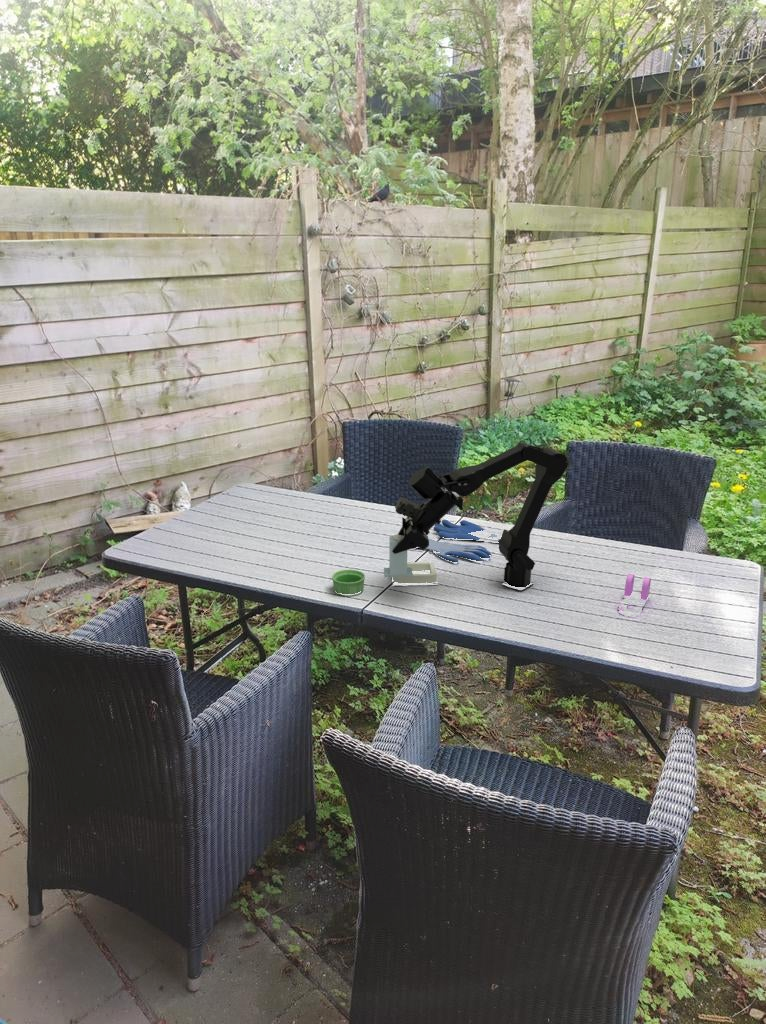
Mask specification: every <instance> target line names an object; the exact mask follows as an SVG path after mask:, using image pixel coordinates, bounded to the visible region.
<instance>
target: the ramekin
mask: <svg viewBox="0 0 766 1024" xmlns="http://www.w3.org/2000/svg"><path fill="white" fill-rule="evenodd" d="M331 580H332V584H333V591H334V590H335V591H336V592H337V593H342V594H355V593H358V592H360V591H362V590H363V591H364V589H363V588H364V585H365V580H366V575H365V573H364V572H363V571H360V570H357V569H342V570H338V571H336V572H334V573H333V574H331ZM335 591H334V592H335ZM337 593H336V594H337Z"/></svg>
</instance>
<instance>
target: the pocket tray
mask: <svg viewBox="0 0 766 1024" xmlns="http://www.w3.org/2000/svg"><path fill="white" fill-rule="evenodd" d="M407 567H412V571H422V570H424V571H425V570H430V574H413V577H393V580H394V582H398V583H426V582H427V583H432V582H437V578H438V576H437V575H438V573H437V570H436V567H435V563H434V562H430V561H411V562H410V561H407Z"/></svg>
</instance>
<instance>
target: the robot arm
mask: <svg viewBox="0 0 766 1024" xmlns="http://www.w3.org/2000/svg"><path fill="white" fill-rule="evenodd" d="M526 461H529V462H532V463H534V464H535V469H534V470H535V473H534V474H535V475H534V480H533V483H532V485H531V487H530V490H529V491H528V494H527V496H526V498H525V501H524V503H523V505H522V508H521V510H520V512H519V514H518V516H517V518H516V521H515V523H514V525H513V526H512V527H511V528H510V529H509V530H507V529H504V530H503V531H502V533H501V534H502V537H501V539H500V540H499V541H498V542H499V543H500V544H498V550H499V553H500V554H501V555H502V556H503V557H504V559H505V560H506V561H507V562H506V563H505V567H504V569H503V570H504V571H503V572H504V573H503V582H507V583H508V584H509V585H511V586H515V587H526V586H527V585H529V584H530V582H532V581H531V579H532V577H531V576H532V571H533V570H534V567H535V566H536V562H535V561H534V560H533V559H532V558H531V557H530V556H529V555H528V553H529V549H530V545H531V544H530V543H531V542H530V541H531V540H530V539H531V533H532V531H533V529H534V527H535V524H536V522H537V520H538V517H539V515H540V513H541V511H542V509H543V507H544V504H545V502H546V499H547V498H548V495H549V493H550V491H551V489H552V487H553V486H554V485H555V484H556V483H557V482H558V481H559V480H560V479H561V478H562V476H564V473H566V471H567V469H568V467H569V461H568V458H567V456H566V455H565V454H563V453H561V452H560V451H558V450H556V449H555V448H553V447H547V448H545V449H544V448H541V447H540V446H536V445H531V444H529V443H528V442H525V441H524V442H519V443H517V445H516V446H513V447H512V448H509V449H507V450H505V451H503V452H500V453H499V454H497V455H495V456H493V457H491V458H489V459H487V460H485V461H483V462H481V463H478V464H475V465H474V464H473V465H467V466H463V467H459V468H457V469H454V470H452V471H451V472H450V473H447V474H446V473H445V474H442V475H437V474H436V473H435V472H434V471H433V470H432V469H431V467H430V466H428V465H425V467H424V468H421V469H419V470H418V471H415V472H414V473H413V474H412V475H411V477H410V479H409V480H408V486H409V487H410V488H411V489H413V490H414V491H415V492H416V493H417V494H418V495H419V496H420V497H422V498H423V499H424V500H427V499H428V501H426V502H425V501H422V502H421V503H420V504H418V503H416V502H415V501H411V500H409V499H407V498H406V497H402V496H400V497H399V498H398V500H397V503H396V505H395V506H394V509H395V513H396V514H399V515H402V516H403V517H402V518H401V521H402V522H401V527H400V530H399V531H398V533H397V534H396V535H402V536H403V538H402V539H401V540H400V541H399V543H398V544H397V545H396V546H395V548H394V549H393V550H392V552H393V553H394V554H397V553H400V552H403V551H406V550H407V551H409V550H414V549H413V548H416V547H420V548H421V549H420V550H422V551H426V550H425V549H426V548H427V547H428V546H429V539H430V538H429V534H430V533H431V531H430V530H431V529H432V528H434V526H435V524H436V523H437V524H442V519H443V517H445V515H447V514H448V513H449V512H450V511H451V510H452V509H453V508H454V507H455V506H456V507H457V508H458V509H459V510H461V511H462V510H464V505H463V503H464V498H463V497H467V496H470V495H472V494H473V493H474V492H476V491H477V490H478V489H480V488H481V487H482V486H483V485H484V483H485V482H487V481H488V480H490V479H491V478H493V477H496V476H498V475H500V474H502V473H504V472H506V471H508V470H511V469H512V468H514V467H516V466H518V465H520V464H522V463H524V462H526ZM444 488H445V489H444ZM455 493H456V494H457V495H458V496H457V495H456V494H455ZM405 517H406V518H405Z"/></svg>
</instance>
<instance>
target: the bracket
mask: <svg viewBox="0 0 766 1024" xmlns="http://www.w3.org/2000/svg"><path fill="white" fill-rule="evenodd" d="M651 582H652V578H651V577H648V576H647V577H646V576H644V577H643V580H642V583H641V584H642V585H641V599H643V600H646V599H647V597H648V595H649V596H650V592H651V591H650V589H651ZM634 583H635V574H632V573H628V574H627V575H626V580H625V587H624V592H623V593H624V594H623V596H624V595H625V596H630V595H631V593H632V591H633V592H634ZM618 605H619V604H618ZM619 606H621V605H619ZM619 609H620V610H622V609H623V607H621V608H619ZM622 611H624V609H623V610H622Z"/></svg>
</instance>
